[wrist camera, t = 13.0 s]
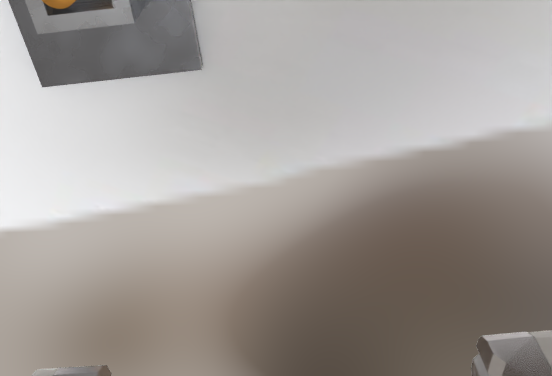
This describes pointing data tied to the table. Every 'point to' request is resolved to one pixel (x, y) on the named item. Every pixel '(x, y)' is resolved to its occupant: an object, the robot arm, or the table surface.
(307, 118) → the table surface
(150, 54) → the base
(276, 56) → the table surface
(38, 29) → the hollow square tube
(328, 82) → the table surface
